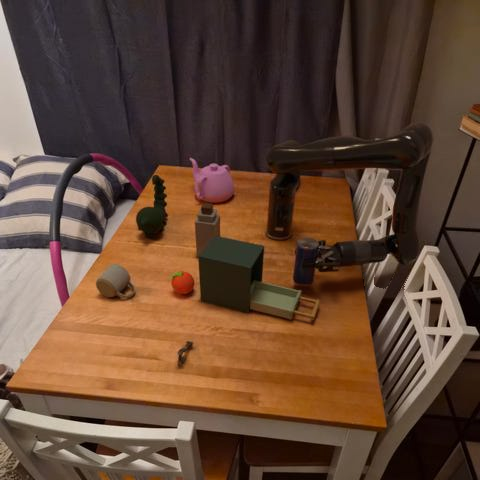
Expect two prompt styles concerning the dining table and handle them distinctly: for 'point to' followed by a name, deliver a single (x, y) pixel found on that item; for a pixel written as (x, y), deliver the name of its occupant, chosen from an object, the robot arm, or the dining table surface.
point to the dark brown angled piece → (188, 345)
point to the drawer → (278, 300)
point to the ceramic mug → (114, 281)
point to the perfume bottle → (206, 226)
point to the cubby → (229, 272)
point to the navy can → (305, 251)
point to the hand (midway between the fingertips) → (298, 258)
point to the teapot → (212, 182)
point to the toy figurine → (153, 211)
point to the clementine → (182, 282)
